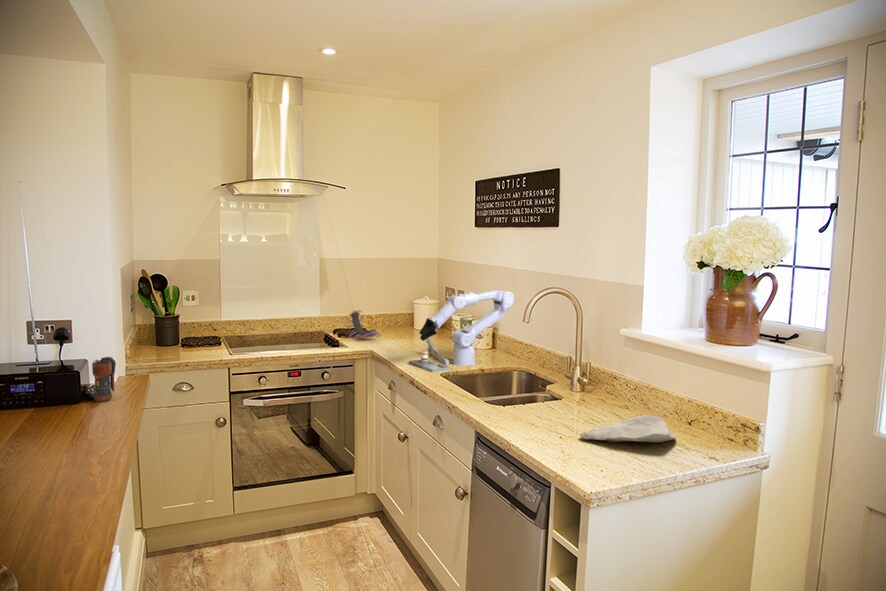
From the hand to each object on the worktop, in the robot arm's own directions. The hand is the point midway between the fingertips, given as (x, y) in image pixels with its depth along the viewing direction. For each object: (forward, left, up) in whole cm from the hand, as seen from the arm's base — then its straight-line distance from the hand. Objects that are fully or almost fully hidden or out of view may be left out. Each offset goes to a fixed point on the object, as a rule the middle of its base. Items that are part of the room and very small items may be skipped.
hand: (421, 337), depth 270 cm
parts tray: (-4, +6, -15) cm, 16 cm away
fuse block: (-3, -4, -15) cm, 15 cm away
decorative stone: (-8, +108, -15) cm, 109 cm away
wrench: (-17, -13, -15) cm, 26 cm away
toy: (-10, -78, -15) cm, 80 cm away
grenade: (+123, -12, -15) cm, 124 cm away
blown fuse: (-3, -2, -14) cm, 14 cm away
